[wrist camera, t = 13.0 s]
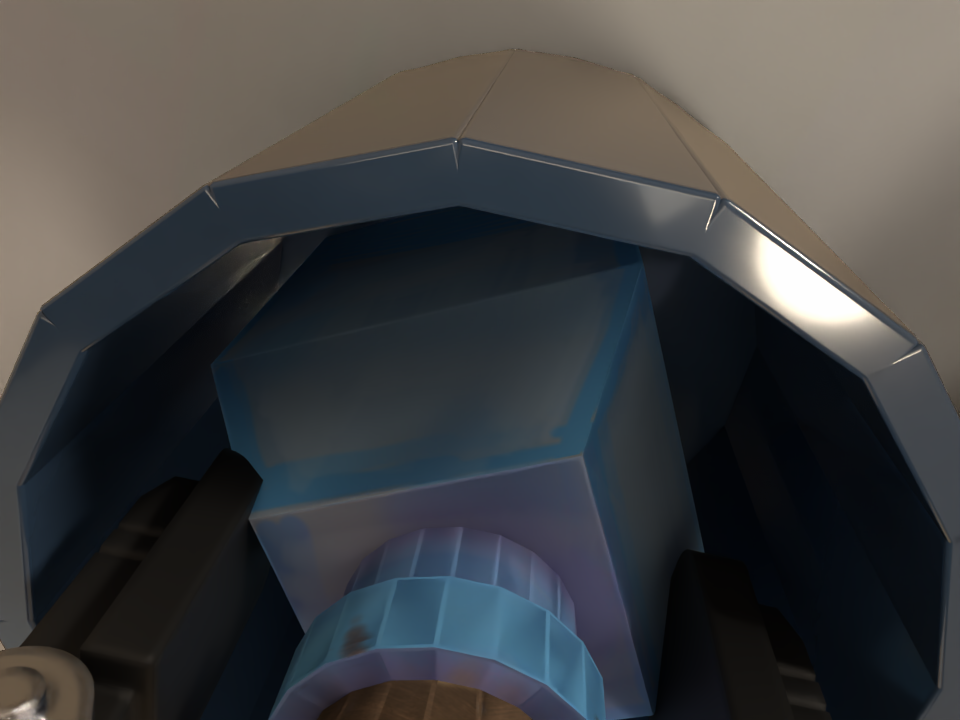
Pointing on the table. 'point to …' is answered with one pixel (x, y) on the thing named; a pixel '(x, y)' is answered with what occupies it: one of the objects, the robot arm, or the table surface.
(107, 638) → the robot arm
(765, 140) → the table surface
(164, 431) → the holder
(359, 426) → the perfume bottle
